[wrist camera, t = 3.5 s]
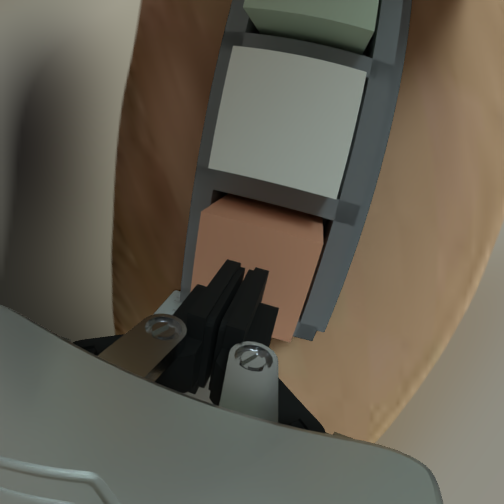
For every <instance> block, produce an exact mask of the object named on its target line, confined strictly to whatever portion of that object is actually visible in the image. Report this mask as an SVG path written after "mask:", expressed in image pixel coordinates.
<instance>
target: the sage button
mask: <svg viewBox="0 0 504 504" xmlns="http://www.w3.org/2000/svg"><path fill="white" fill-rule="evenodd" d="M378 3H379V0H245V1H244V5H243V8H244V10H245V11H246V13H247V14H248V16H249V17H250V19H251V20H252V22H253V23H254V25H255V26H256V28H257V30H258V31H259V33H260V34H263V35H270V36H277V37H284V38H290V39H295V40H301V41H306V42H311V43H316V44H320V45H325V46H329V47H333V48H337V49H341V50H345V51H349V52H352V53H356V54H360V55H362V54H363V52H364V50H365V48H366V46H367V44H368V42H369V41H370V39H371V37H372V35H373V33H374V30H375V23H376V17H377V10H378Z"/></svg>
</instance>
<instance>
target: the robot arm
mask: <svg viewBox="0 0 504 504" xmlns="http://www.w3.org/2000/svg"><path fill="white" fill-rule="evenodd" d="M244 273H245V268H243V267H241V263H239V262H236V261H232V260H228V259H227V260H226V261H225V263H224V264H223V265H222V267H221V268H220V269H219V271H218V272H217V273H216V275H215V276H214V278H213V279H212V280H211V282H210V283H209V284H208V286H207V287H206V286H203V285H200V284H197V285H196V286H195V287H194V289H193V290H192V291H191V292H190V294H189V295H188V296H187V297H186V299H185V300H184V301H183V302H182V304H181V305H180V306H179V307H178V309H177V310H176V311H175V312H174V314H173V315H170V314H154V315H150V316H148V317H146V318H145V319H143V320H142V321H141V322H140V323H138V324H137V325H136V326H134V327H133V328H132V329H131V330H129V331H128V332H127V333H126V334H122V335H115V336H108V337H100V338H93V339H85V340H79V341H75V342H73V343H71V340H70V339H67V338H64V337H61V336H59V335H57V334H55V333H53V332H52V331H50V330H48V329H47V328H45V327H43V326H41V325H40V324H38V323H36V322H34V321H32V320H31V319H29V318H27V317H25V316H24V315H22V314H20V313H18V312H16V311H14V310H12V309H10V308H7V307H4V306H2V305H0V504H443V500H442V496H441V493H440V488H439V486H438V483H437V481H436V479H435V477H434V475H433V473H432V472H431V470H430V469H429V468H428V467H426V465H424V464H423V463H421V462H420V461H418V460H417V459H415V458H413V457H411V456H409V455H407V454H404V453H402V452H400V451H398V450H395V449H391V448H388V447H385V446H382V445H379V444H375V443H370V442H366V441H362V440H356V439H353V438H350V437H347V436H345V435H342V434H339V433H336V432H334V433H333V435H332V434H329V433H326V432H325V430H324V428H323V426H322V425H321V424H320V422H319V421H318V420H317V419H316V418H315V417H314V416H313V415H312V414H311V413H310V412H309V411H308V410H307V409H306V408H305V406H304V405H303V404H302V403H301V402H300V401H299V400H298V399H297V398H296V397H295V396H294V394H293V393H292V392H291V391H290V390H289V389H288V388H287V387H286V386H285V384H284V383H283V382H282V381H281V380H280V379H279V378H278V359H277V356H276V354H275V353H274V351H272V350H271V349H270V348H269V345H270V341H271V337H272V334H273V330H274V326H275V322H276V318H277V315H278V311H279V308H278V307H274V306H271V305H267V304H264V303H261V302H262V298H263V294H264V290H265V286H266V282H267V278H268V274H269V271H268V270H264V269H261V268H257V267H255V269H254V270H250V269H249V270H248V272H247V274H246V276H245V278H244ZM243 278H244V280H243ZM210 375H211V376H210ZM209 377H210V382H209V388H208V390H210V396H209V398H210V400H211V401H212V403H213V404H211V403H208V402H206V401H203V400H200V399H197V398H194V397H191V396H189V395H186V394H183V393H187V392H189V393H192V394H196V392H197V390H198V388H199V387H201V388H205V386H206V384H207V382H208V380H209Z"/></svg>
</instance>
